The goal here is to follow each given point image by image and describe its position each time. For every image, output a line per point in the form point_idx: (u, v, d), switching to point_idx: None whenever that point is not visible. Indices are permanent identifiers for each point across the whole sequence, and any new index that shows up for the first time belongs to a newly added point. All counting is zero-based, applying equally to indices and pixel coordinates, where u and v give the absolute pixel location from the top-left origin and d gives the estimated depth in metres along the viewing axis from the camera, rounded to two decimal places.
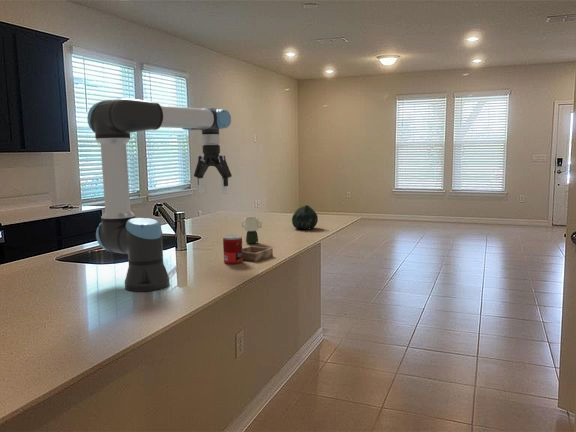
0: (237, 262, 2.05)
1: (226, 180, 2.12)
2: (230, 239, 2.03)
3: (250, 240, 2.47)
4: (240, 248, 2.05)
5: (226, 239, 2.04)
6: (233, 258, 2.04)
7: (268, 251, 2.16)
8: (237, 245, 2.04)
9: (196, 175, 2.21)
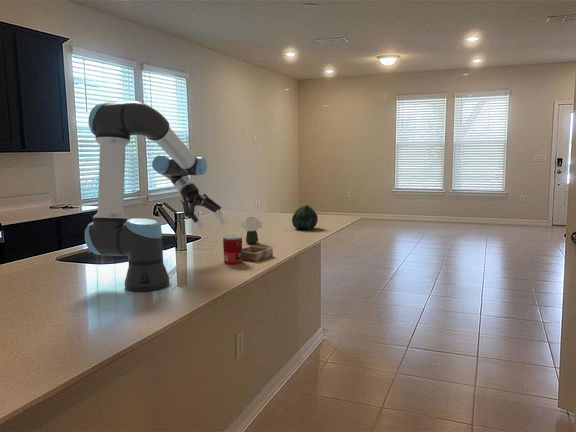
0: (237, 262, 2.05)
1: (192, 217, 2.07)
2: (230, 239, 2.03)
3: (250, 240, 2.47)
4: (240, 248, 2.05)
5: (226, 239, 2.04)
6: (233, 258, 2.04)
7: (268, 251, 2.16)
8: (237, 245, 2.04)
9: None
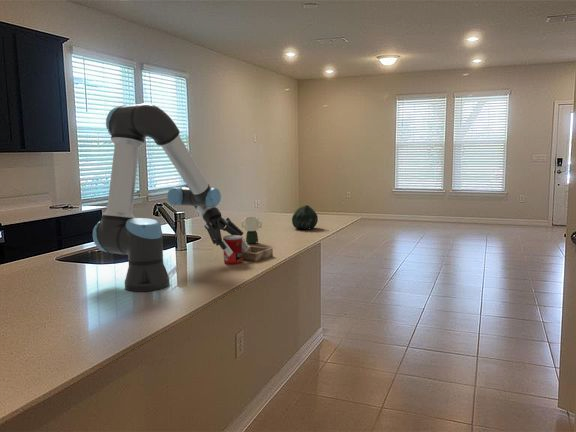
0: (237, 262, 2.05)
1: (220, 244, 2.03)
2: (230, 239, 2.03)
3: (250, 240, 2.47)
4: (240, 248, 2.05)
5: (226, 239, 2.04)
6: (233, 258, 2.04)
7: (268, 251, 2.16)
8: (237, 245, 2.04)
9: None
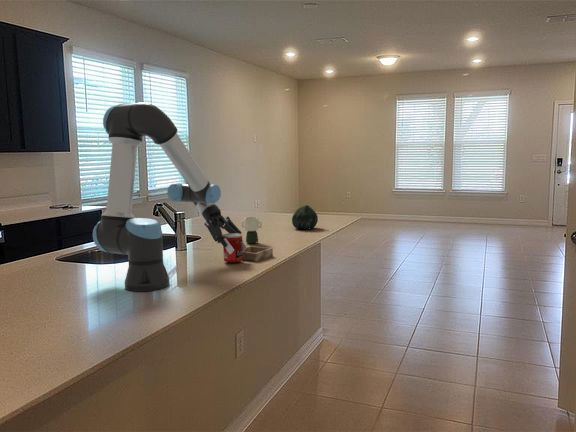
0: (237, 260, 2.04)
1: (221, 242, 2.03)
2: (230, 237, 2.03)
3: (250, 240, 2.47)
4: (240, 246, 2.05)
5: (226, 237, 2.03)
6: (233, 256, 2.04)
7: (268, 251, 2.16)
8: (237, 243, 2.04)
9: None
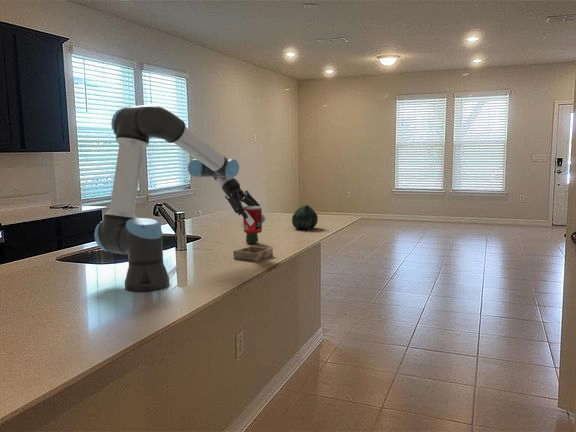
0: (257, 231, 2.12)
1: (242, 214, 2.10)
2: (250, 209, 2.10)
3: (250, 240, 2.47)
4: (260, 218, 2.12)
5: (246, 209, 2.11)
6: (253, 227, 2.11)
7: (268, 251, 2.16)
8: (257, 214, 2.11)
9: None
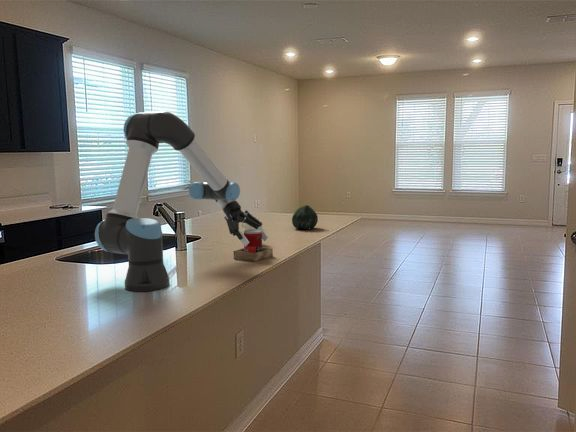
0: None
1: (236, 234, 2.10)
2: (251, 233, 2.11)
3: None
4: (260, 242, 2.13)
5: (247, 233, 2.12)
6: (254, 251, 2.12)
7: (268, 251, 2.16)
8: (258, 239, 2.12)
9: None
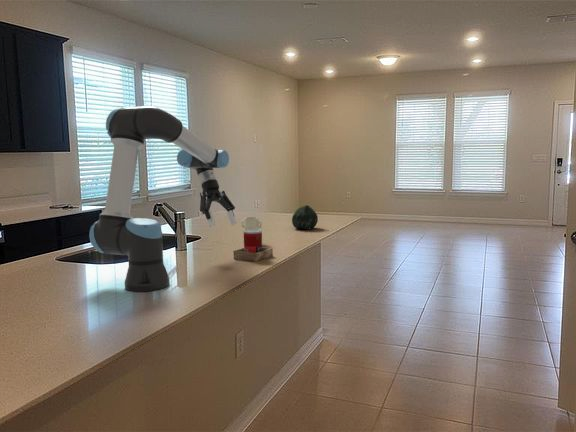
0: None
1: (205, 213, 2.15)
2: (250, 233, 2.11)
3: None
4: (260, 242, 2.13)
5: (247, 233, 2.12)
6: (254, 251, 2.12)
7: (268, 251, 2.16)
8: (258, 239, 2.12)
9: None
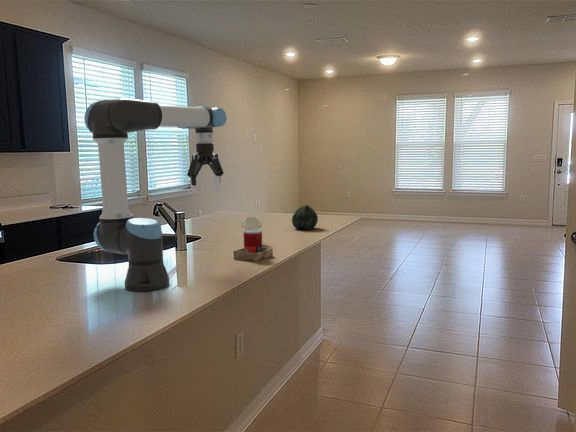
0: None
1: (192, 179, 2.11)
2: (251, 233, 2.11)
3: None
4: (260, 242, 2.13)
5: (247, 233, 2.12)
6: (254, 251, 2.12)
7: (268, 251, 2.16)
8: (258, 239, 2.12)
9: None
